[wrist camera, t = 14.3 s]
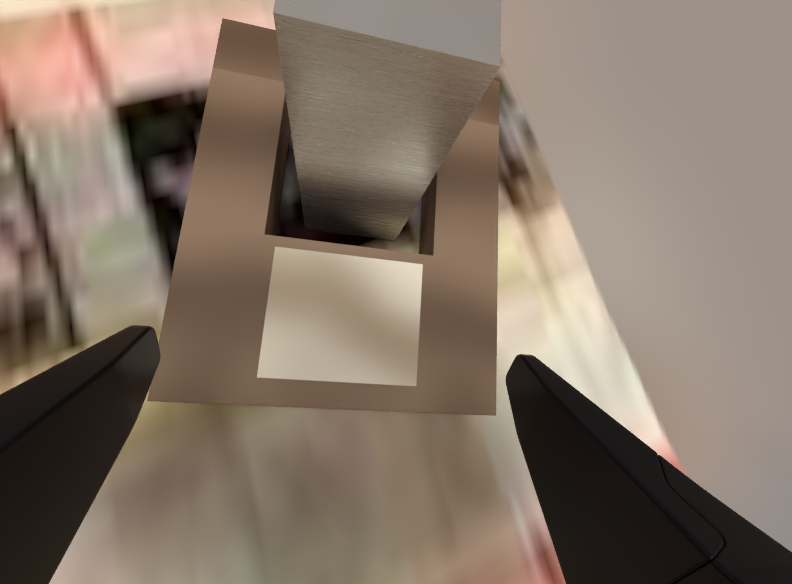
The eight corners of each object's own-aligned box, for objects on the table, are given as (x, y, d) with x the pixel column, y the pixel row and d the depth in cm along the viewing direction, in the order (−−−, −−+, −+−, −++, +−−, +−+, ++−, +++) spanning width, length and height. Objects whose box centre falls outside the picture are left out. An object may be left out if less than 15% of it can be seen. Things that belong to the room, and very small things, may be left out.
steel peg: (395, 240, 18) (500, 66, 7) (305, 228, 17) (272, 12, 6) (400, 161, 19) (502, -100, 8) (315, 146, 18) (302, -165, 7)
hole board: (471, 407, 17) (498, 416, 14) (176, 393, 15) (144, 401, 12) (478, 114, 20) (501, 78, 17) (236, 64, 18) (221, 14, 15)
